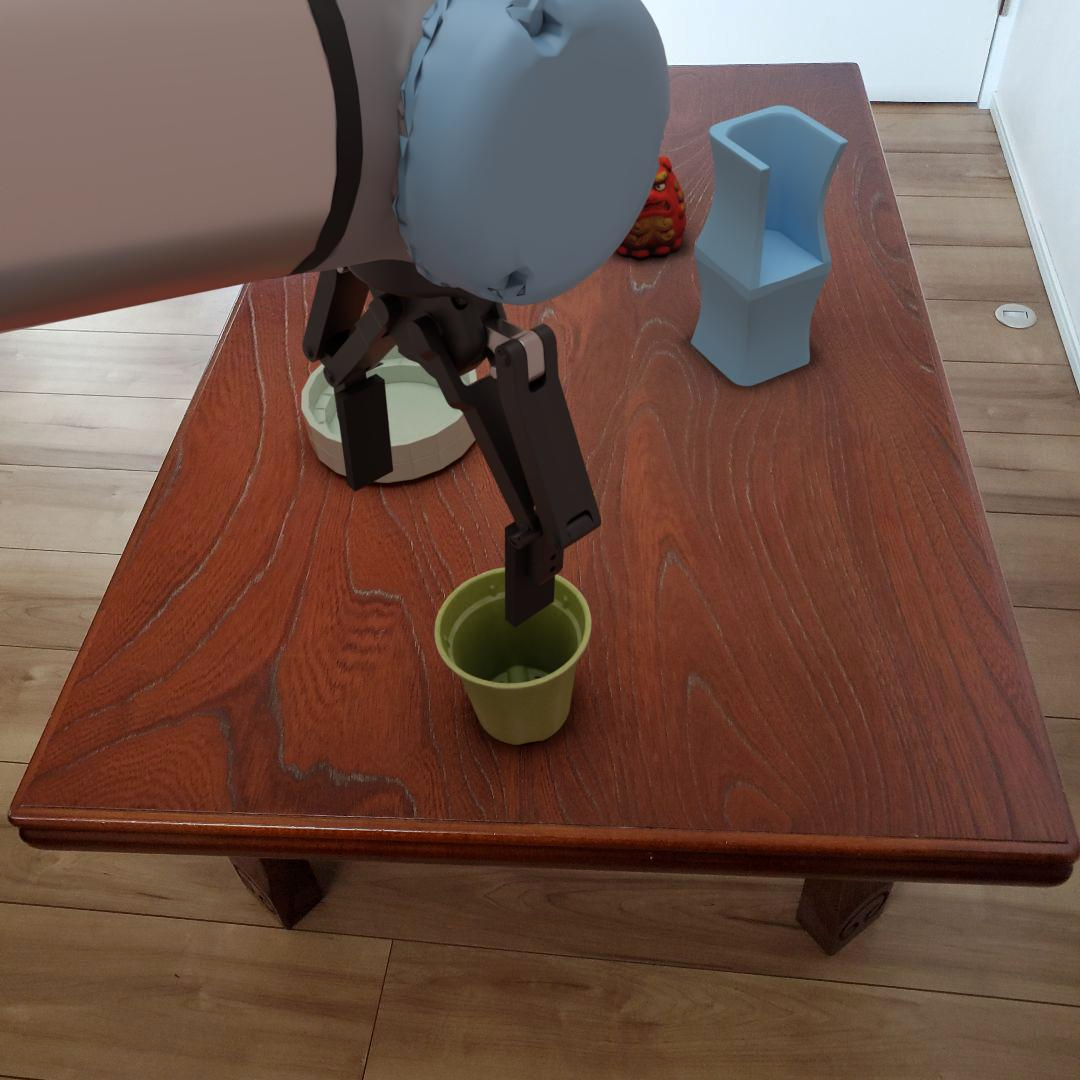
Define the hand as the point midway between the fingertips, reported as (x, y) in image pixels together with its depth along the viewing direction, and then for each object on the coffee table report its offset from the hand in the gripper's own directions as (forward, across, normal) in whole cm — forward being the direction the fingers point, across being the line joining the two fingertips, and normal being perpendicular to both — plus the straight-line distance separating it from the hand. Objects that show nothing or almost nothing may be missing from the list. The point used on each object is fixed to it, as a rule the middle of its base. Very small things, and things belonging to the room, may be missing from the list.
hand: (445, 541), depth 61 cm
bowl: (+16, +26, -15) cm, 35 cm away
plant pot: (+17, -2, -4) cm, 17 cm away
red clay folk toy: (+14, +31, -50) cm, 61 cm away
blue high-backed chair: (+14, +12, -44) cm, 47 cm away
